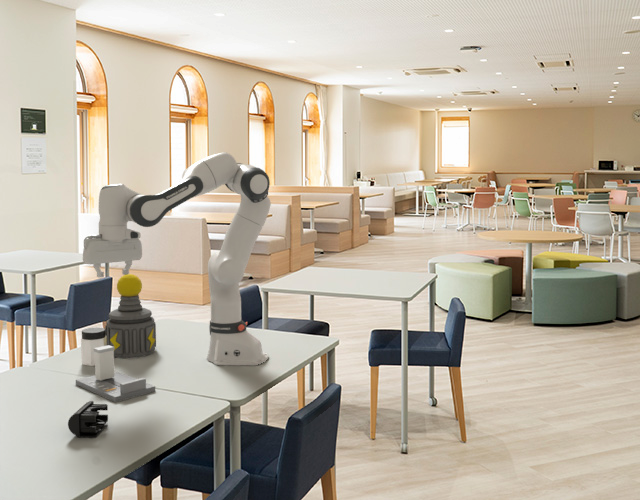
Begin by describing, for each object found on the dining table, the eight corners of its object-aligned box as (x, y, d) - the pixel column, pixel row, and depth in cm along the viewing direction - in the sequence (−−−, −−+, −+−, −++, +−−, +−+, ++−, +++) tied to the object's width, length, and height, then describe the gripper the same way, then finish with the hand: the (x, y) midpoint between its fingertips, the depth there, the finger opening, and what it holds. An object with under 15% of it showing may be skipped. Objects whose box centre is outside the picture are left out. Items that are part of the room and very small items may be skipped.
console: (75, 384, 218) (75, 370, 218) (114, 375, 228) (114, 361, 228) (115, 402, 202) (114, 387, 202) (155, 391, 212) (155, 377, 212)
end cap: (83, 424, 185) (82, 400, 184) (108, 424, 185) (108, 400, 184) (68, 438, 175) (67, 413, 174) (95, 439, 175) (94, 414, 174)
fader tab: (94, 378, 218) (93, 348, 217) (109, 374, 222) (108, 345, 221) (100, 380, 216) (99, 350, 215) (115, 377, 220) (114, 347, 219)
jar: (85, 367, 237) (83, 334, 236) (79, 362, 244) (77, 329, 242) (110, 363, 242) (109, 330, 240) (104, 358, 249) (103, 326, 247)
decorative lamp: (94, 355, 252) (91, 276, 248) (126, 343, 269) (123, 269, 266) (137, 361, 245) (134, 279, 242) (166, 348, 263) (164, 272, 259)
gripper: (89, 236, 210) (89, 280, 212) (144, 233, 226) (144, 274, 228) (78, 234, 214) (78, 277, 216) (133, 231, 230) (133, 271, 232)
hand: (113, 275), depth 222 cm, fingers open, 8 cm apart
